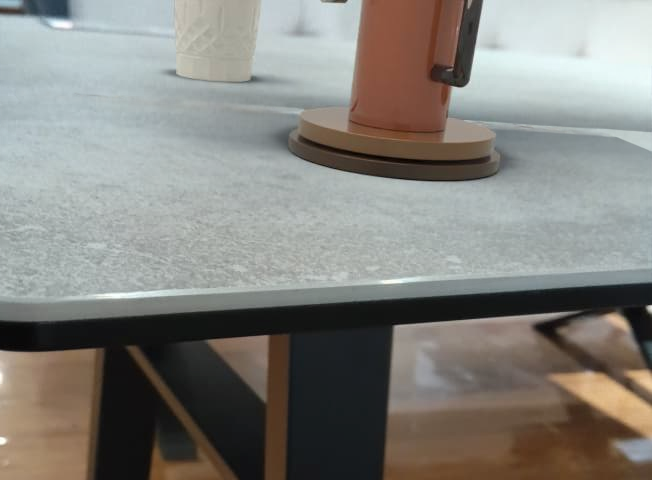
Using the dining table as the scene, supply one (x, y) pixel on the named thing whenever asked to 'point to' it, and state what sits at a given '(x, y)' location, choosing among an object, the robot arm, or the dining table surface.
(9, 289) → the dining table surface
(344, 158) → the lazy susan base
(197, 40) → the white cup
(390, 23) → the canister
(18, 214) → the dining table surface
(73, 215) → the dining table surface
